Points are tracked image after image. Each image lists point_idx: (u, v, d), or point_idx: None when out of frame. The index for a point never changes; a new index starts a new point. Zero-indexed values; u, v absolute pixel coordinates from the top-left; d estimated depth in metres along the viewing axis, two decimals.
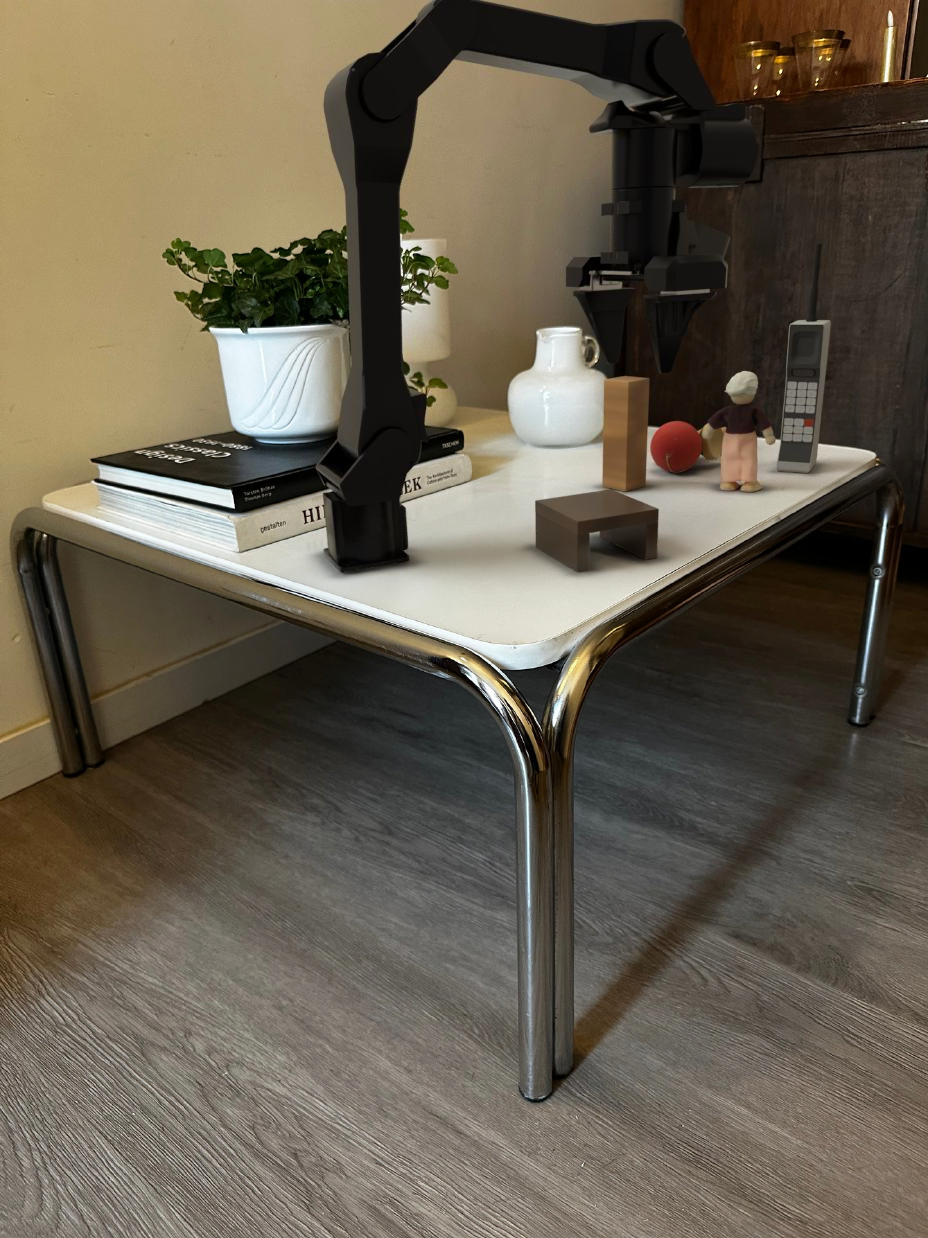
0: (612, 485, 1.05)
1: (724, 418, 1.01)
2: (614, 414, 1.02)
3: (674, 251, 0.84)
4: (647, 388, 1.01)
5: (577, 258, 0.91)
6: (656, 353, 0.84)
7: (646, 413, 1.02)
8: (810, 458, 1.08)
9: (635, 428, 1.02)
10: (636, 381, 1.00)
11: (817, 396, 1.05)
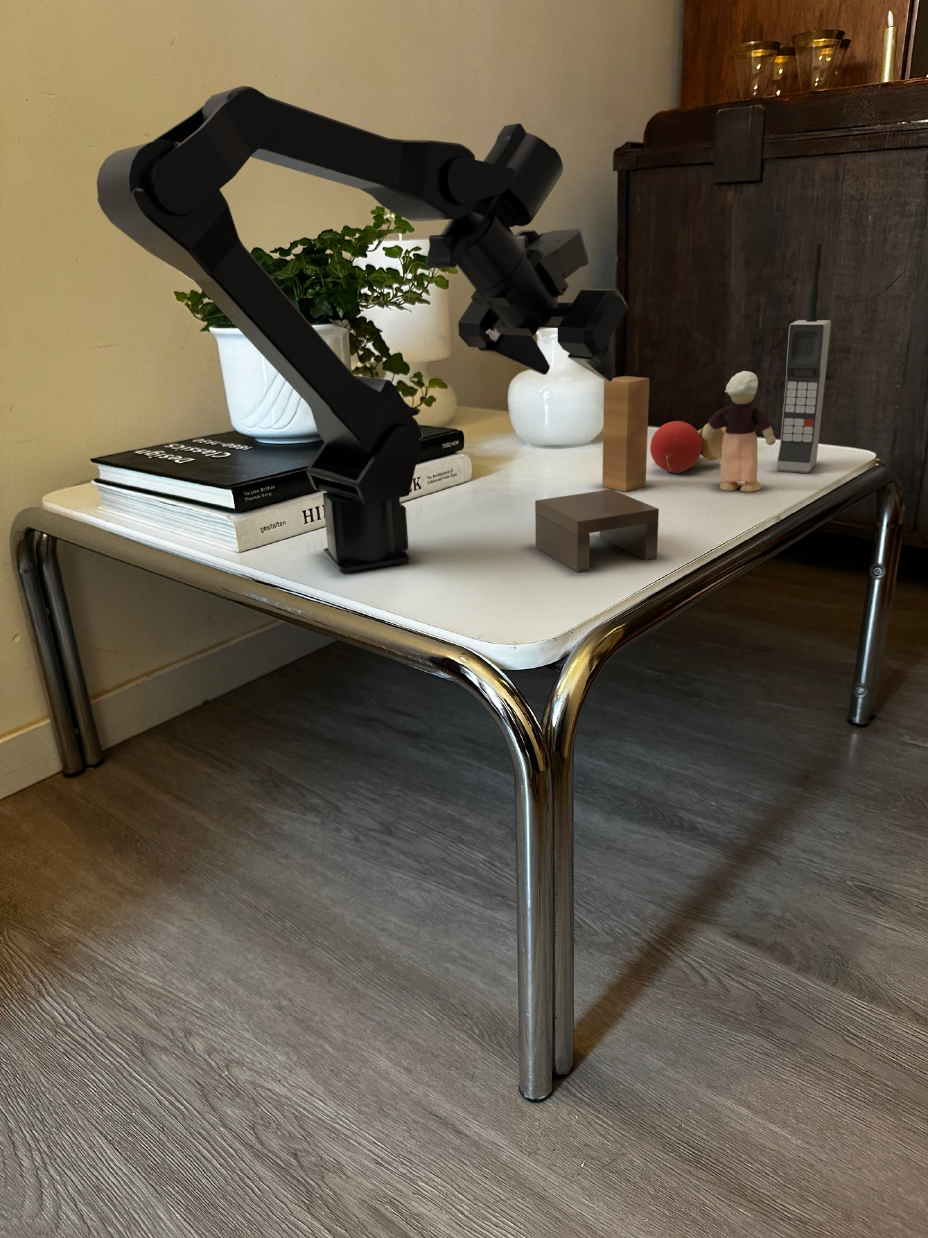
0: (612, 485, 1.05)
1: (724, 418, 1.01)
2: (614, 414, 1.02)
3: (555, 290, 0.88)
4: (647, 388, 1.01)
5: (464, 324, 0.95)
6: (600, 375, 0.91)
7: (646, 413, 1.02)
8: (810, 458, 1.08)
9: (635, 428, 1.02)
10: (636, 381, 1.00)
11: (817, 396, 1.05)
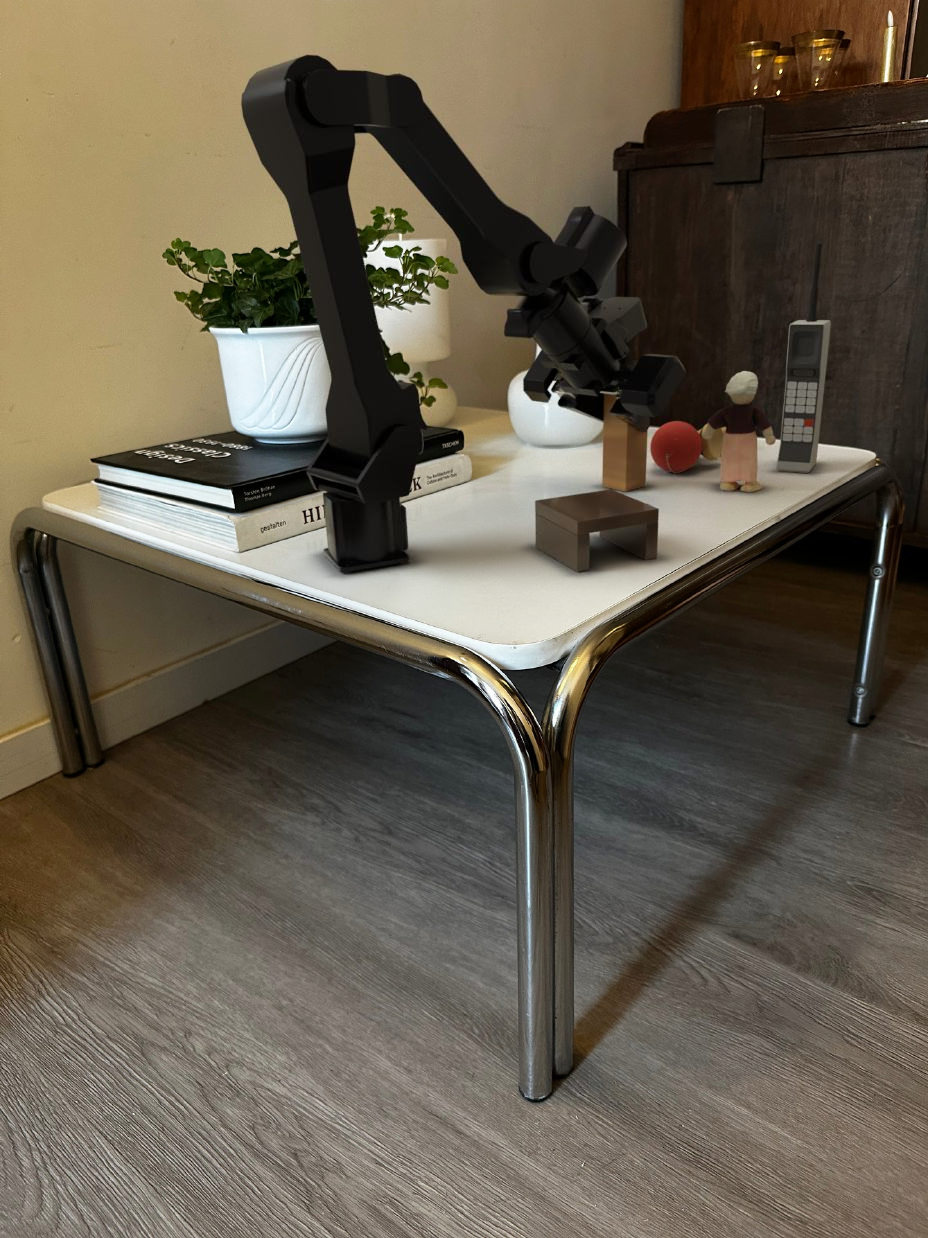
0: (612, 485, 1.05)
1: (724, 418, 1.01)
2: None
3: (617, 354, 0.96)
4: None
5: (529, 381, 1.03)
6: (636, 427, 1.01)
7: None
8: (810, 458, 1.08)
9: (635, 428, 1.02)
10: None
11: (817, 396, 1.05)
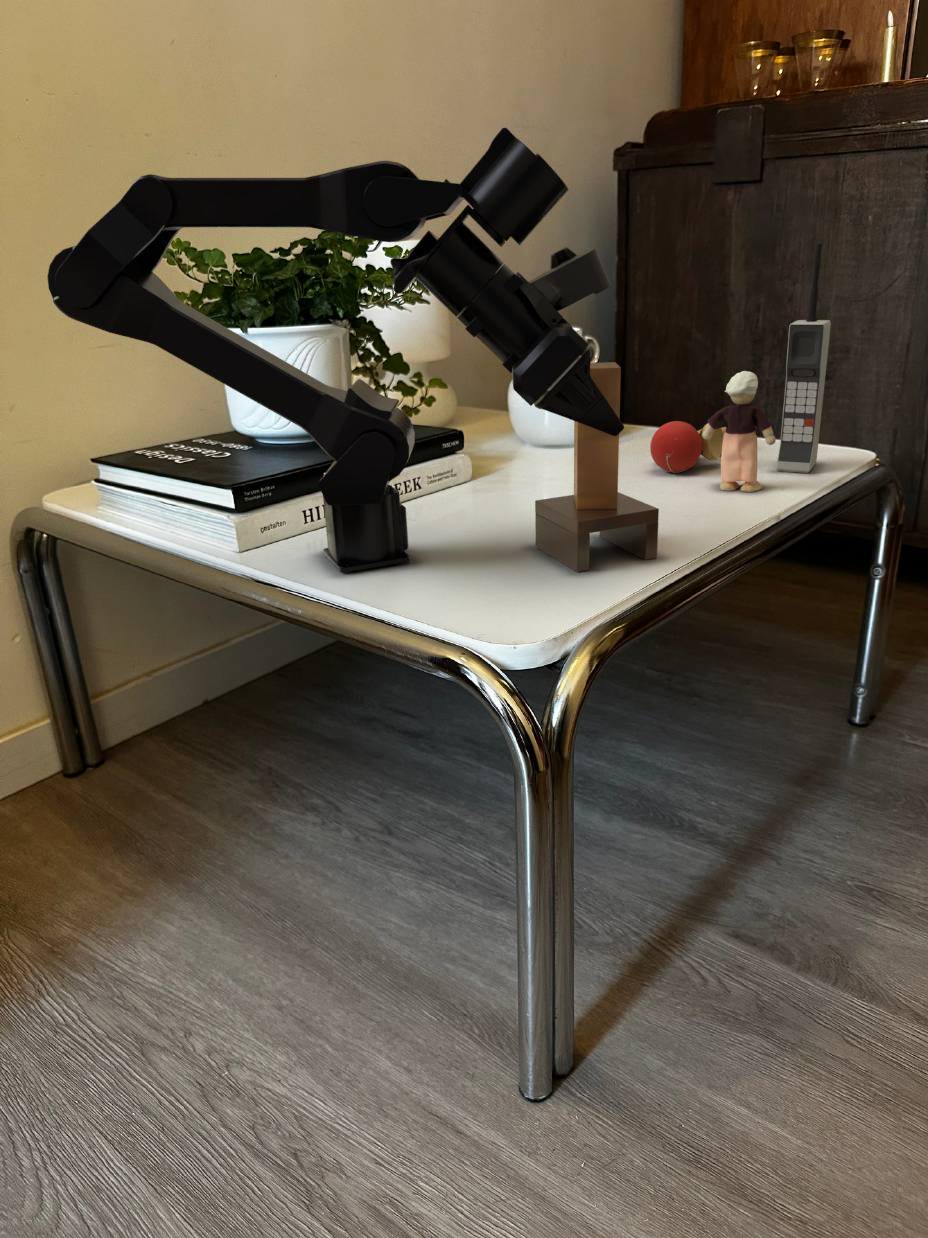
0: (575, 500, 0.82)
1: (724, 418, 1.01)
2: None
3: (544, 321, 0.74)
4: (616, 380, 0.76)
5: None
6: (593, 427, 0.75)
7: None
8: (810, 458, 1.08)
9: (594, 431, 0.78)
10: (594, 369, 0.76)
11: (817, 396, 1.05)
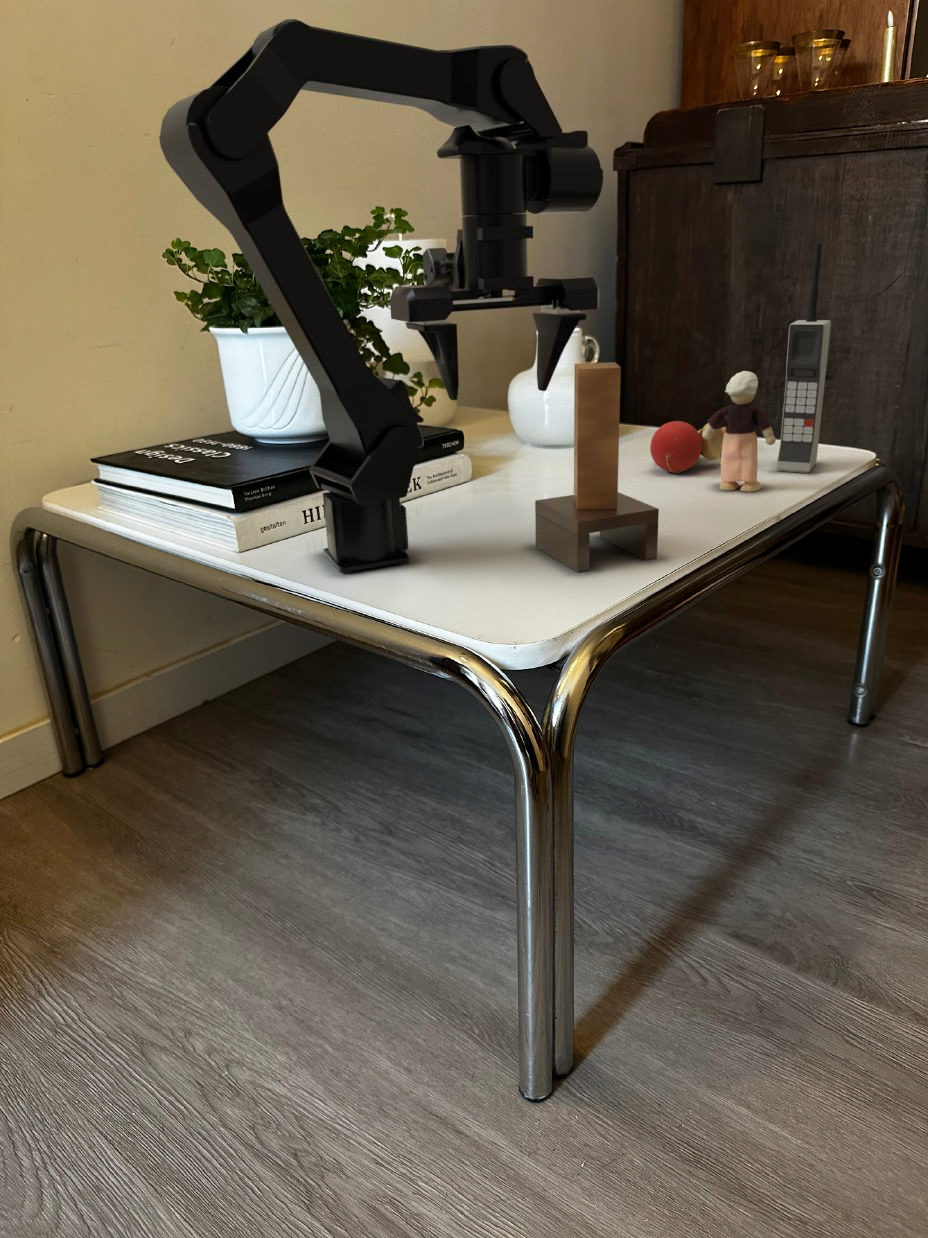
0: (575, 500, 0.82)
1: (724, 418, 1.01)
2: (575, 410, 0.79)
3: None
4: (616, 380, 0.76)
5: (423, 289, 0.79)
6: (550, 371, 0.88)
7: (614, 414, 0.78)
8: (810, 458, 1.08)
9: (594, 431, 0.78)
10: (594, 369, 0.76)
11: (817, 396, 1.05)
